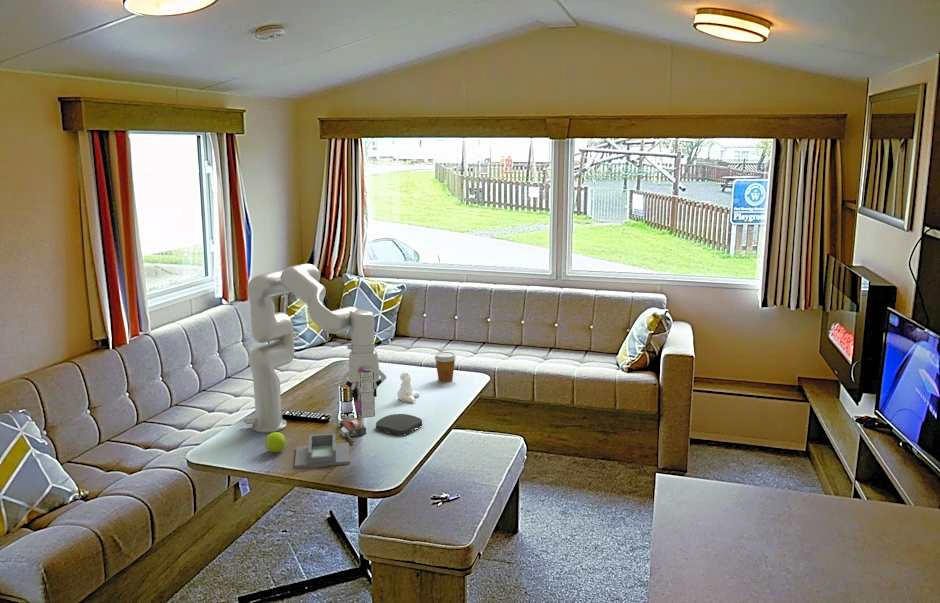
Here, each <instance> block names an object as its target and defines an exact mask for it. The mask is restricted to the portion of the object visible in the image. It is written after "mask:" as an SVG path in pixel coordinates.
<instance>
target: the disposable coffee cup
mask: <svg viewBox="0 0 940 603" xmlns="http://www.w3.org/2000/svg"><path fill="white" fill-rule="evenodd" d="M456 358H457V356H456V354H455V353H454V352H452V351H451V352H450V351H441V352H437V353H435V356H434V359H435V364H436V365H435V366H436V372H437V379H438V382H440V381H441V382H440V383H450V381H451V382H453V377H454V370H455V362H456Z"/></svg>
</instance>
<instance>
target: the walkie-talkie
mask: <svg viewBox="0 0 940 603" xmlns="http://www.w3.org/2000/svg"><path fill="white" fill-rule="evenodd" d="M338 425H339V426H340V427H342V428H340V435H341V436H342V437H343V438H347V440H348V441H349V442H351V443H352V444H354V443H355V440H354V439H353V437H355V436H354V435H357V436H363V435H366V434H367V427H366V426H365V425H364V424H363V423H362V422H361V421H360V420H359V419H358V418H357V417H349V418H342V419H341V421H340V422H339V424H338ZM350 436H353V437H350Z"/></svg>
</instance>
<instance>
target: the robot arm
mask: <svg viewBox="0 0 940 603" xmlns="http://www.w3.org/2000/svg"><path fill="white" fill-rule="evenodd" d="M320 279H321V274H320V271H319V269H318V268H317V267H316V266H315V265H314V264H311V263H301V264H295V265H291V266H289V267H286V268H285V269H281V270H276V271H271V272H270V271H269V272H265V273H261V274H258V275H255V276H253V277H252V278H251V279H250V280H249V281H248V284H247V290H246V291H247V297H248V300H249V305H250V322H251V323H250V326H251V335H252V338H253V340H254V342H257V343H259V344H260V343H261V344H262V345H260V346H257V347H255V348H254V349H253V350H251V351H250V353H249V356H248V363H249V367H250V371H251V376H252V382H253V385H252V386H253V394H254V395H253V396H254V408H255V409H254V410H255V415H252V417H248V416H247V417H243V423H246V425H251V428H252V430H253V431H254V432H257V433H260V434H261V433H262V434H265V433H266V434H267V433H269V434H270V433H273V432H279V431H282V430H284V429H285V428H286V427H288V426H287V425H288V424H287V420H286V419H284V418H283V412H282V411H283V410H282V394H281V392H282V391H281V381H280V377H279V376H278V375H277V373H276V372H275V370H276V369H278V368H280V367H283V366H286V365H289V364H290V363H291V362H293V359H294V358H295V357H294V356H295V338H294V336H295V334H294V324H293V321H292V319H291V317H290V316H289V315H288V314H286V313H285V312H276V310H275V307H276V306H275V303H274V301H273V299H272V298H271V297H274V296H278V295H283V294H287V293H292V294H293V295H294V296H295V297H297V298H298V299H299V300H301V301H302V302H303V303H304V304H305V305H306V306H307V311H308V315H309V317H310V319H311V320H312V322H313V323H315V325H316V326H318V327H319V328H320V329H322V330H323V331H324V332H326V333H328V334H333V335H335V334H339V333H342V332H345V331H349V330H350V331H351V334H350V335H351V343H350V344H347V350H350V351H349V356H348V368H347V371H346V372H345V373H344V374H343V375H342V377H340V380H341V381H342V383H344V384H345V385H346V386H347V387H348V388H349V389H351V399H353V401H354V402H355V401H356V388H355V386H356V383H358V369H369V368H370V369H371V368H372V369H373V371H374V401H375V398H376V397H377V393H378V392H377V389H378V387H379V386H380V385H381V384H382V383H384V381H386V380H387V375H385V374H384V372H383V371H382V370H381V369H380V366H379V365H380V363H379V355H378V351H377V350H376V348H375V315H374V313H373V312H372V311H369V310H363V309H360V308H357V307H355V306H346V307H343V308H337V309H334V310H332V311H331V310H330V309H328V308H327V307H326V306H324V305H323V304H322V303H323V301H324V300H325V297H326V292H327V291H326V287H325V286H324V285H323V284H321V283H320ZM269 342H271V343H269ZM264 343H267V344H264Z"/></svg>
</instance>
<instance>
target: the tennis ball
mask: <svg viewBox="0 0 940 603" xmlns="http://www.w3.org/2000/svg"><path fill="white" fill-rule="evenodd" d="M286 443H287V441H286V437H285V436H284V434H283V433H281V432H279V431H276V432H270V433H269V434H268V435H267V436H266V437H265V439H264V445H265V448H266V449H267V451H268V452H271V453H280V452H282V450H284V449H285V447H286V445H287V444H286Z"/></svg>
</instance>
